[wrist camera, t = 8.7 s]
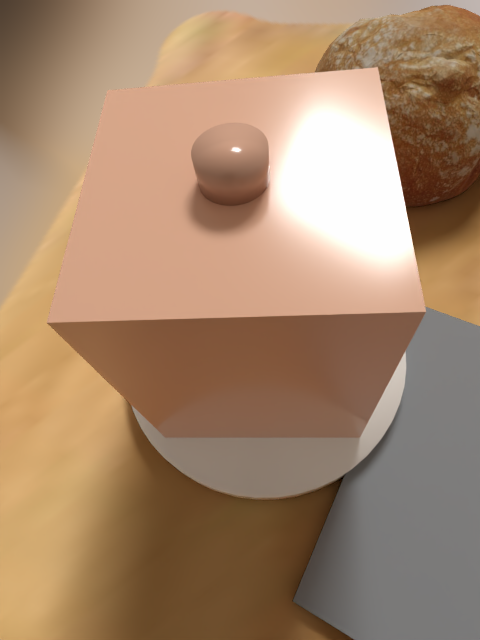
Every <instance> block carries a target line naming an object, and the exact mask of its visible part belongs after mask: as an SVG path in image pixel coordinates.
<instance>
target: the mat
mask: <svg viewBox="0 0 480 640" xmlns="http://www.w3.org/2000/svg"><path fill="white" fill-rule="evenodd" d="M425 308H426V313H425V315H424V317H423V319H422V321H421V323H420V324H419V326H418V328H417V330H416V332H415V334H414V336H413V338H412V340H411V342H410V343H409V345H408V347H407V349H406V376H405V386H404V390H403V394H402V397H401V401H400V405H399V407H398V409H397V412H396V414H395V416H394V419H393V421H392V423H391V424H390V426H389V427H388V429H387V431H386V432H385V434H384V436H383V437H382V439H381V440H380V441H379V443H378V444H377V445H376V446H375V447H374V449H373V450H372V451H371V452H370V453H369V455H368V456H367V457H366V458H365V459H363V460H362V461H361V462H360V463H359V464H358V465H357V466H355V467H354V468H353V469H352V470H351V471H349V472H347V473H346V474H345V475H344V478H343V480H342V483H341V485H340V487H339V490H338V492H337V495H336V497H335V500H334V502H333V504H332V507H331V509H330V512H329V514H328V516H327V519H326V521H325V524H324V526H323V529H322V531H321V533H320V536H319V538H318V541H317V543H316V546H315V548H314V550H313V553H312V555H311V558H310V560H309V563H308V565H307V567H306V570H305V572H304V575H303V577H302V580H301V582H300V584H299V587H298V589H297V592H296V594H295V597H294V599H293V602H295V603H296V604H298V605H299V606H301V607H303V608H304V609H306V610H307V611H309V612H311V613H312V614H314V615H316V616H317V617H319V618H320V619H322V620H324V621H325V622H327V623H328V624H330V625H332V626H333V627H335V628H336V629H338V630H340V631H341V632H343V633H345V634H346V635H348V636H349V637H351V638H353V639H354V640H480V326H477V325H474V324H472V323H469V322H466V321H463V320H461V319H458V318H455V317H452V316H449V315H447V314H444V313H441V312H438V311H436V310H433V309H430V308H427V307H425Z"/></svg>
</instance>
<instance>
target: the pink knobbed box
mask: <svg viewBox="0 0 480 640" xmlns="http://www.w3.org/2000/svg"><path fill="white" fill-rule="evenodd" d="M425 313H426V308H425V303H424V298H423V293H422V288H421V283H420V278H419V273H418V268H417V263H416V258H415V253H414V248H413V243H412V238H411V233H410V227H409V222H408V217H407V212H406V207H405V202H404V197H403V192H402V187H401V182H400V177H399V172H398V167H397V162H396V157H395V152H394V147H393V142H392V137H391V131H390V126H389V121H388V116H387V111H386V106H385V101H384V96H383V91H382V86H381V81H380V76H379V71H378V67H375V68H363V69H352V70H340V71H328V72H316V73H305V74H293V75H281V76H269V77H258V78H246V79H234V80H223V81H211V82H199V83H187V84H176V85H164V86H152V87H140V88H129V89H118V90H108V91H107V94H106V98H105V102H104V106H103V109H102V113H101V117H100V121H99V125H98V129H97V133H96V137H95V140H94V144H93V148H92V152H91V155H90V159H89V163H88V167H87V171H86V175H85V178H84V182H83V186H82V190H81V194H80V198H79V201H78V205H77V209H76V213H75V217H74V221H73V224H72V228H71V232H70V236H69V240H68V244H67V247H66V251H65V255H64V259H63V263H62V267H61V270H60V274H59V278H58V282H57V286H56V290H55V293H54V297H53V301H52V305H51V309H50V312H49V316H48V320H47V323H48V324H49V325H50V326H51V327H52V328H53V329H54V330H55V331H56V332H57V333H58V334H59V335H60V336H61V337H62V338H63V339H64V340H65V341H66V342H67V343H68V344H69V345H70V346H71V347H72V348H73V349H74V350H75V351H76V352H77V353H79V354H80V355H81V356H82V357H83V358H84V359H85V360H86V361H87V362H88V363H89V364H90V365H91V366H92V367H93V368H94V369H95V370H96V371H97V372H98V373H99V374H100V375H101V376H102V377H103V378H104V379H105V380H106V381H107V382H108V383H109V384H110V385H111V386H113V387H114V388H115V389H116V390H117V391H118V392H119V393H120V394H121V395H122V396H123V397H124V398H125V399H126V400H127V401H128V402H129V403H130V404H131V405H132V406H133V407H134V408H135V409H136V410H137V411H138V412H139V413H140V414H141V415H142V416H143V417H144V418H145V419H147V420H148V421H149V422H150V423H151V424H152V425H153V426H154V427H155V428H156V429H157V430H158V431H159V432H160V433H161V434H162V435H163V436H164V437H165V438H360V437H361V435H362V433H363V431H364V429H365V427H366V425H367V423H368V421H369V419H370V418H371V416H372V414H373V412H374V410H375V408H376V406H377V404H378V402H379V400H380V399H381V397H382V395H383V393H384V391H385V389H386V387H387V385H388V383H389V381H390V380H391V378H392V376H393V374H394V372H395V370H396V368H397V366H398V364H399V362H400V361H401V359H402V357H403V355H404V353H405V351H406V349H407V347H408V345H409V343H410V342H411V340H412V338H413V336H414V334H415V332H416V330H417V328H418V326H419V324H420V323H421V321H422V319H423V317H424V315H425Z"/></svg>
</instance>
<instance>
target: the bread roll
mask: <svg viewBox="0 0 480 640" xmlns="http://www.w3.org/2000/svg"><path fill="white" fill-rule="evenodd" d="M375 67H378V71H379V76H380V81H381V86H382V91H383V96H384V101H385V106H386V111H387V116H388V121H389V126H390V131H391V137H392V142H393V147H394V152H395V157H396V162H397V167H398V172H399V177H400V182H401V187H402V192H403V197H404V202H405V207H413V206H423V205H429V204H433V203H437V202H440V201H443V200H446V199H450V198H453V197H455V196H457V195H459V194H461V193H462V192H464V191H466V190H467V189H468V187H470V186H471V185H472V184H473V183H474V181H475V180H476V179H477V178H478V176H479V174H480V16H478V15H476V14H474V13H472V12H470V11H468V10H465V9H462V8H458V7H454V6H450V5H442V6H430V7H428V8H424V9H421V10H420V11H413V12H410V13H406V14H403V15H392V14H391V15H387V16H383V17H379V18H368V19H360V20H359V21H358V22H356V23H355V24H353V25H352V26H351V27H349V28H348V29H347V30H345V31H344V32H343V33H342V34H341V35H339V36H338V37H337V38H336V39H335V40H334V41H333V42H332V43H331V44H330V46H329V47H328V49H327V50H326V52H325V53H324V55H323V57H322V58H321V60H320V62H319V64H318V66H317V68H316V71H315V73H316V72H328V71H340V70H352V69H363V68H375Z"/></svg>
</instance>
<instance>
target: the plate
mask: <svg viewBox="0 0 480 640" xmlns="http://www.w3.org/2000/svg"><path fill="white" fill-rule="evenodd" d="M405 376H406V351H405V353H404V355H403V357H402V359H401V361H400V362H399V364H398V366H397V368H396V370H395V372H394V374H393V376H392V378H391V380H390V381H389V383H388V385H387V387H386V389H385V391H384V393H383V395H382V397H381V399H380V400H379V402H378V404H377V406H376V408H375V410H374V412H373V414H372V416H371V418H370V419H369V421H368V423H367V425H366V427H365V429H364V431H363V433H362V435H361V437H360V438H165V437H164V436H163V435H162V434H161V433H160V432H159V431H158V430H157V429H156V428H155V427H154V426H153V425H152V424H151V423H150V422H149V421H148V420H147V419H145V418H144V417H143V416H142V415H141V414H140V413H139V412H138V411H137V410H136V409H135V408H134V407H133V406H132V409H133V412H134V414H135V416H136V419H137V421H138V423H139V425H140V427H141V429H142V431H143V432H144V434H145V435H146V437H147V438H148V440H149V441H150V443H151V444H152V445H153V446H154V447H155V448H156V450H157V451H158V452H159V453H160V454H161V455H162V456H163V457H164V458H165V459H166V460H167V461H168V462H170V463H171V464H172V465H173V466H174V467H176V468H177V469H178V470H179V471H180V472H182V473H183V474H184V475H186V476H187V477H189V478H191V479H192V480H194V481H195V482H197V483H199V484H200V485H203V486H205V487H207V488H210V489H212V490H214V491H216V492H219V493H223V494H226V495H230V496H234V497H238V498H246V499H253V500H278V499H284V498H291V497H297V496H300V495H304V494H307V493H310V492H314V491H317V490H319V489H321V488H323V487H325V486H327V485H330V484H332V483H334V482H336V481H337V480H339V479H340V478H342V477H343V476H344V475H345V474H346V473H347V472H349V471H351V470H352V469H353V468H354V467H355V466H357V465H358V464H359V463H360V462H361V461H362V460H363V459H365V458H366V457H367V456H368V455H369V453H370V452H371V451H372V450H373V449H374V447H375V446H376V445H377V444H378V443H379V441H380V440H381V439H382V437H383V436H384V434H385V432H386V431H387V429H388V427H389V426H390V424H391V423H392V421H393V419H394V416H395V414H396V412H397V409H398V407H399V405H400V401H401V397H402V394H403V390H404V386H405Z"/></svg>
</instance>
